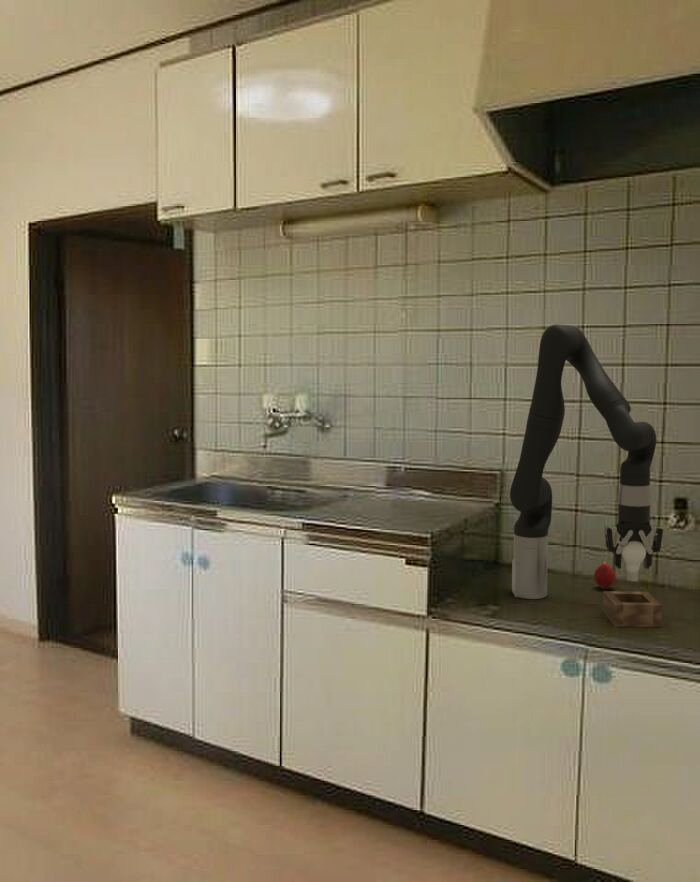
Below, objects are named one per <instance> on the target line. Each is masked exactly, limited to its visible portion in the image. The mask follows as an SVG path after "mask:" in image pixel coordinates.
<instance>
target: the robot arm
mask: <svg viewBox="0 0 700 882" xmlns="http://www.w3.org/2000/svg"><path fill="white" fill-rule="evenodd" d="M597 357H598V356H596V353H595V352H594V350H593V348H592V347H591V345H590V343H589V341H588V338H587V336H585V333H584V332H583V331H582V330H581V329H580V328H578V327H577V326H574V325H569V324H568V325H567V324H556V323H555V324H552V325H549V326H548V327H547V328H546V329H545V330H544V332H543V333H542V335H541V339H540V342H539V350H538V357H537V369H536V377H535V381H534V387H533V392H532V397H531V402H530V406H529V410H528V411H529V412H528V416H527V421H526V426H525V432H524V437H523V440H522V441H523V442H522V446H521V451H520V454H519V455H520V456H519V461H518V464H517V467H516V469H515V474H514V476H513V479H512V482H511V486H510V489H509V490H510V491H509V499H510V503H511V505H512V507H513V508H514V509H516V511H519V512H520V514H519V516H518V519H517V520H516V521H515V523H514V526H513V558H512V559H511V560H512V561H511V564H512V567H511V591H512V595H513V596H514V598H520V599H526V600H541V599H545V598H546V597H547V596H548V555H549V553H548V552H549V551H548V550H549V529H550V526H551V521H552V511H553V490H552V487H551V484H550V482H549V481H548V480H547V479H546V478H544V477H543V476H544V475H543V474H544V470H545V466H546V463H547V461H548V459H549V458H550V456H551V454H552V451H553V450H554V449H555V446H556V445H557V443H558V440H559V438H560V435H561V432H562V428H563V424H564V419H565V411H566V410H565V408H566V407H565V398H564V394H563V393H564V392H563V389H562V377H563V373H564V372H563V371H564V368H565V363H566V361H567V362H568V363H569V364H570V365H571V366H572V367H573V368H574V369H575V370H576V371H577V373H578V374H579V375H580V377H581V379H582V381H583V384H584V388H585V391H586V393H587V395H588V398H589V399H590V402H591V403H592V405H593V406H594V407H595V408H596V410H597V411H598V413H599V414H600V415H601V417H602V418H603V419H604V420H605V422H606V425H607V428H608V430H609V432H610V434H611V437H612V438H613V440H614V442H615V443H616V444H617V446H619V448H620V449H622V450H623V451H626V452H627V457H626V459H624V460H623V461H622V462H621V464H620V468H619V469H620V470H619V489H618V497H617V503H618V505H617V506H618V507H617V524H616V526H608V525H606V526H605V527H604V536H605V537H604V538H605V548H606V549H607V551H608V552H611V553H613V566H615V568H617V569H622V558H621V554H620V553H621V551H622V550H623V548H624V547H625V546H626V544H627V542H630V541H638V542H640V543H641V542H642V543H643V545H644V546H645V548H646V557H645V559H644V560H643V568H644V569H646V570H649V569H650V567H652V564H653V563H652V562H653V554H654V553H656V552H657V553H659V552H660V551H661V549H662V540H663V533H664V529H663V528H662V527H660V526H652V525H651V523H650V522H651V499H652V498H651V497H652V495H651V494H652V493H651V485H650V484H651V465H652V464H653V459H654V455H655V451H656V446H657V433H656V431H655V428H654V427H653V426H652V425H651V424H650V423H649V422H647V421H637V422H635V421H634V420H633V418H632V417H631V415H630V413H631V410H632V407H631V405H630V403H629V401H628V400H627V398H625V396H624V395H623V394H622V393H621V391H620V390H619V388H618V387H617V386H616V385H615V384H614V382H613V381H612V379H611V378H610V377H609V375H608V374H607V373H606V371H605V369H604V368H603V366H602V364H601V363H600V361H599V359H598V358H597ZM616 532H617V533H618V535H619V536H618V538H617V541H616V543H615V545H614V539H613V538H614V536H615V534H616ZM649 534H652V536H653V539H652V540H653V541H652V546H651V544H650V541H649V540H648V539H647V537H648V536H649Z"/></svg>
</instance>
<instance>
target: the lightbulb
mask: <svg viewBox="0 0 700 882" xmlns="http://www.w3.org/2000/svg"><path fill="white" fill-rule="evenodd" d="M620 554H621V561H622V562H623V564H624V566H625V570H626V580H627V581H628V582H630V583H631V584H632V583H636V582H638V581H639V578H638V577H639V571H640V568H641V564H642V563H644V559H645V557H646V548H645V546H644V545H643V543H642V542H641V543H640V542H638V541H630V542H627V544H626V546H625V547H624V548H623V550H622V551H621V553H620Z"/></svg>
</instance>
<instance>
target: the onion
mask: <svg viewBox="0 0 700 882" xmlns="http://www.w3.org/2000/svg"><path fill="white" fill-rule="evenodd" d="M593 577H594V582H595V583H596V584H597V586H598V587H600V588H601V589H602V590H607V589H609V588H610V587H611V586H613V584H615V582H616V573H615V570H614V569H613V568H612V567H611V566H610V565H609V563H608V562H607V561H604V562H603V563H602V564H601V565H599V566H597V568H596V569H595V571H594V575H593Z"/></svg>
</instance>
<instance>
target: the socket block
mask: <svg viewBox="0 0 700 882" xmlns="http://www.w3.org/2000/svg"><path fill="white" fill-rule="evenodd" d="M602 597H603V598H602V599H603V600H602V602H603V603H602V612H603V615H605V616H606V618H607V619H608V620H609V621H610V623H611V624H612V625H613V626H614V628H615V627H627V628H628V627H629V628H634V627H635V628H662V611H663V609H662V608H663V605H662V604H661V603H660V602H659V601H658V600H657V599H656V598H655V597H653V595H651V594H650V593H649V592H648V591H607V590H606V591H605V590H603V595H602Z"/></svg>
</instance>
